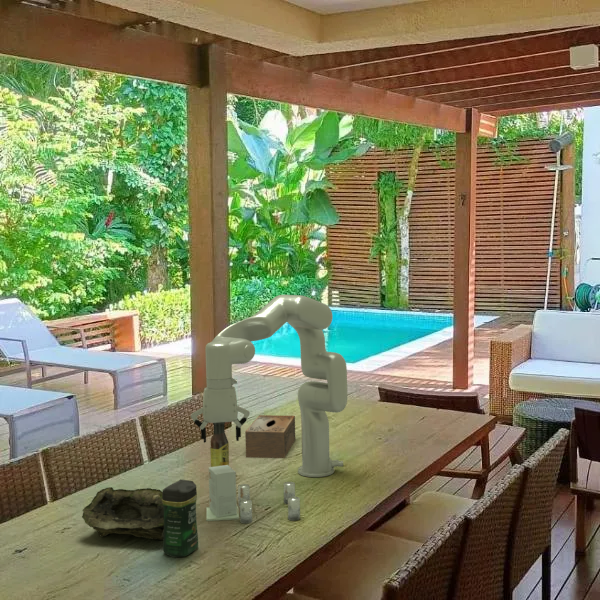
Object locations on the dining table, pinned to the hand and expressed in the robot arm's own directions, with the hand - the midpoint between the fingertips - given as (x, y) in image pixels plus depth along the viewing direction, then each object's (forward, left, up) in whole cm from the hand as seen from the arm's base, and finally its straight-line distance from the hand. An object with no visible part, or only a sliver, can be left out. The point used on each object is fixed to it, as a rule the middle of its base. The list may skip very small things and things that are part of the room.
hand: (221, 440), depth 243 cm
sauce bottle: (+1, -36, -23) cm, 42 cm away
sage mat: (0, 0, -22) cm, 22 cm away
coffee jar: (+12, +26, -23) cm, 37 cm away
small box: (0, 0, -22) cm, 22 cm away
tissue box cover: (-19, -69, -23) cm, 75 cm away
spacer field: (-13, 0, -22) cm, 26 cm away
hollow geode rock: (+25, +15, -23) cm, 37 cm away
